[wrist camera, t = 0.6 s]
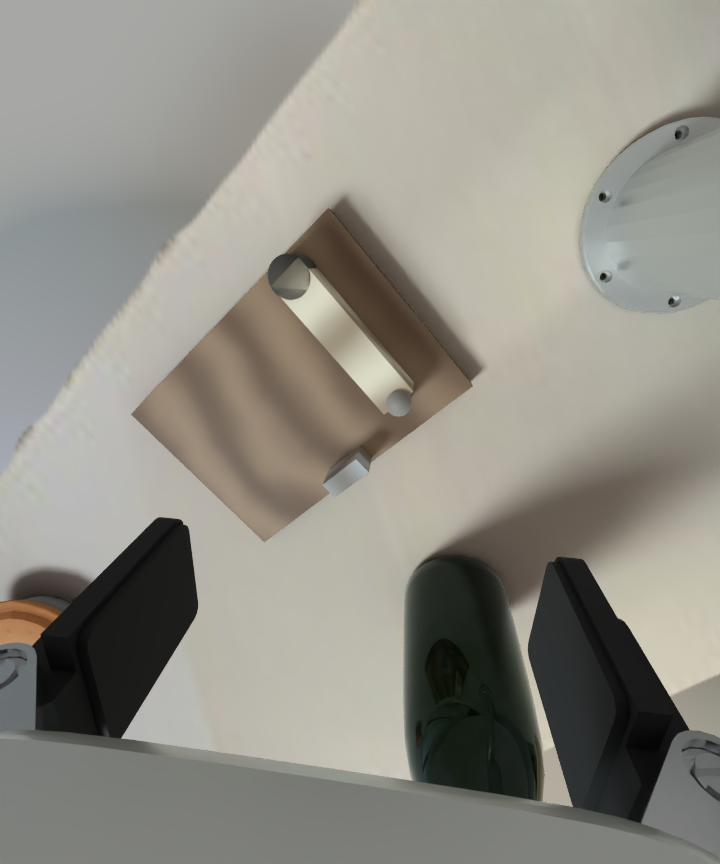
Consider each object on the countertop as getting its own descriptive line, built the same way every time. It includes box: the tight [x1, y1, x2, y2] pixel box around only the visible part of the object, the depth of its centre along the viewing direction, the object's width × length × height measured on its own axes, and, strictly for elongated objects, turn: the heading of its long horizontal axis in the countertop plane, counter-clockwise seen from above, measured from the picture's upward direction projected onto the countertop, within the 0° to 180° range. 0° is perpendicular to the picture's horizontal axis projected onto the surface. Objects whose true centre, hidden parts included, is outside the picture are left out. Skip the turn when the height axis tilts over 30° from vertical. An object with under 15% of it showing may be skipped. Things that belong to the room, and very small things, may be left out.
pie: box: [0, 596, 71, 646], centre depth 53 cm, size 16×16×5 cm
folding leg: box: [268, 254, 414, 417], centre depth 34 cm, size 15×3×3 cm, turn 42°
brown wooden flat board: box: [131, 208, 472, 542], centre depth 38 cm, size 26×18×4 cm
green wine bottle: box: [403, 556, 545, 802], centre depth 31 cm, size 10×10×33 cm
